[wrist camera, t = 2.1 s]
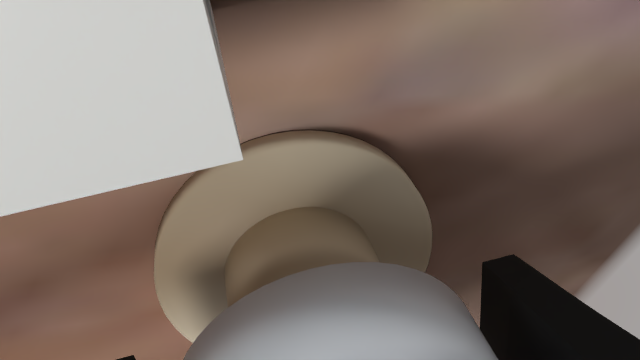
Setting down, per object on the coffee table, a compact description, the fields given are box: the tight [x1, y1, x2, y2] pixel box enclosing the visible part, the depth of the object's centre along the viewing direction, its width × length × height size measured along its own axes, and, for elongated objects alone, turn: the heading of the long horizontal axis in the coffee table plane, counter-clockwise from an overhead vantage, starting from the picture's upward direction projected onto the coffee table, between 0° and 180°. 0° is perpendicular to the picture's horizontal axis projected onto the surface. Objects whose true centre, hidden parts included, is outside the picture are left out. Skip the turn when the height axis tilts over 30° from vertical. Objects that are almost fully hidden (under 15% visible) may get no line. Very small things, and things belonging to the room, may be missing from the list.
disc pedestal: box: [154, 130, 432, 343], centre depth 11 cm, size 6×6×4 cm
